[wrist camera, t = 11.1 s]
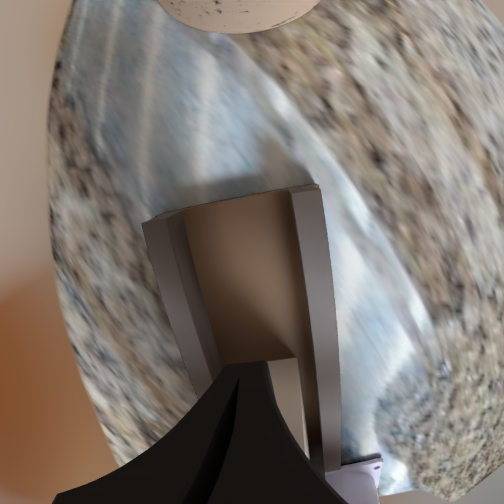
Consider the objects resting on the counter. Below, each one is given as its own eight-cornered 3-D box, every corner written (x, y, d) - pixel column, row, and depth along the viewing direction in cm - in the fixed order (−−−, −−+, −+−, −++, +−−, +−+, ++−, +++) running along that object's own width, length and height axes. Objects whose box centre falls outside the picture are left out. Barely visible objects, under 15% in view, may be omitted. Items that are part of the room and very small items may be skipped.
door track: (338, 435, 17) (346, 481, 13) (236, 446, 18) (229, 491, 14) (315, 183, 13) (333, 190, 9) (162, 212, 14) (123, 230, 10)
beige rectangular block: (296, 357, 14) (306, 477, 7) (308, 441, 16) (314, 536, 9) (236, 364, 14) (213, 481, 8) (260, 446, 16) (253, 539, 9)
